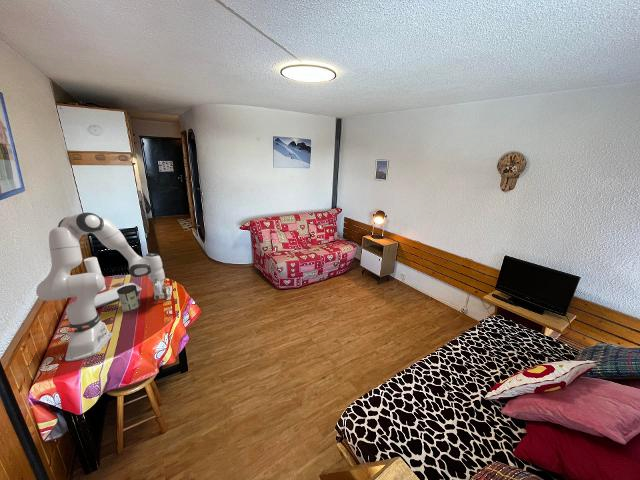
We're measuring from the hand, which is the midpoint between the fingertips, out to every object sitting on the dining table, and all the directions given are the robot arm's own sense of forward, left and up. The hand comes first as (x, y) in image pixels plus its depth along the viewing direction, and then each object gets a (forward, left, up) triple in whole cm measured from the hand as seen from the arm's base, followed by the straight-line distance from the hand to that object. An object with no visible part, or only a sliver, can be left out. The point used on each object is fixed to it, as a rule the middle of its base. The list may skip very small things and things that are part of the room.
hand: (161, 294), depth 176 cm
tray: (+20, +32, -6) cm, 38 cm away
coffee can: (+1, +18, -6) cm, 19 cm away
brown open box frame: (0, 0, -4) cm, 4 cm away
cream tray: (+10, 0, -6) cm, 11 cm away
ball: (+10, 0, -5) cm, 11 cm away
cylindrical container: (+39, +44, -6) cm, 59 cm away
